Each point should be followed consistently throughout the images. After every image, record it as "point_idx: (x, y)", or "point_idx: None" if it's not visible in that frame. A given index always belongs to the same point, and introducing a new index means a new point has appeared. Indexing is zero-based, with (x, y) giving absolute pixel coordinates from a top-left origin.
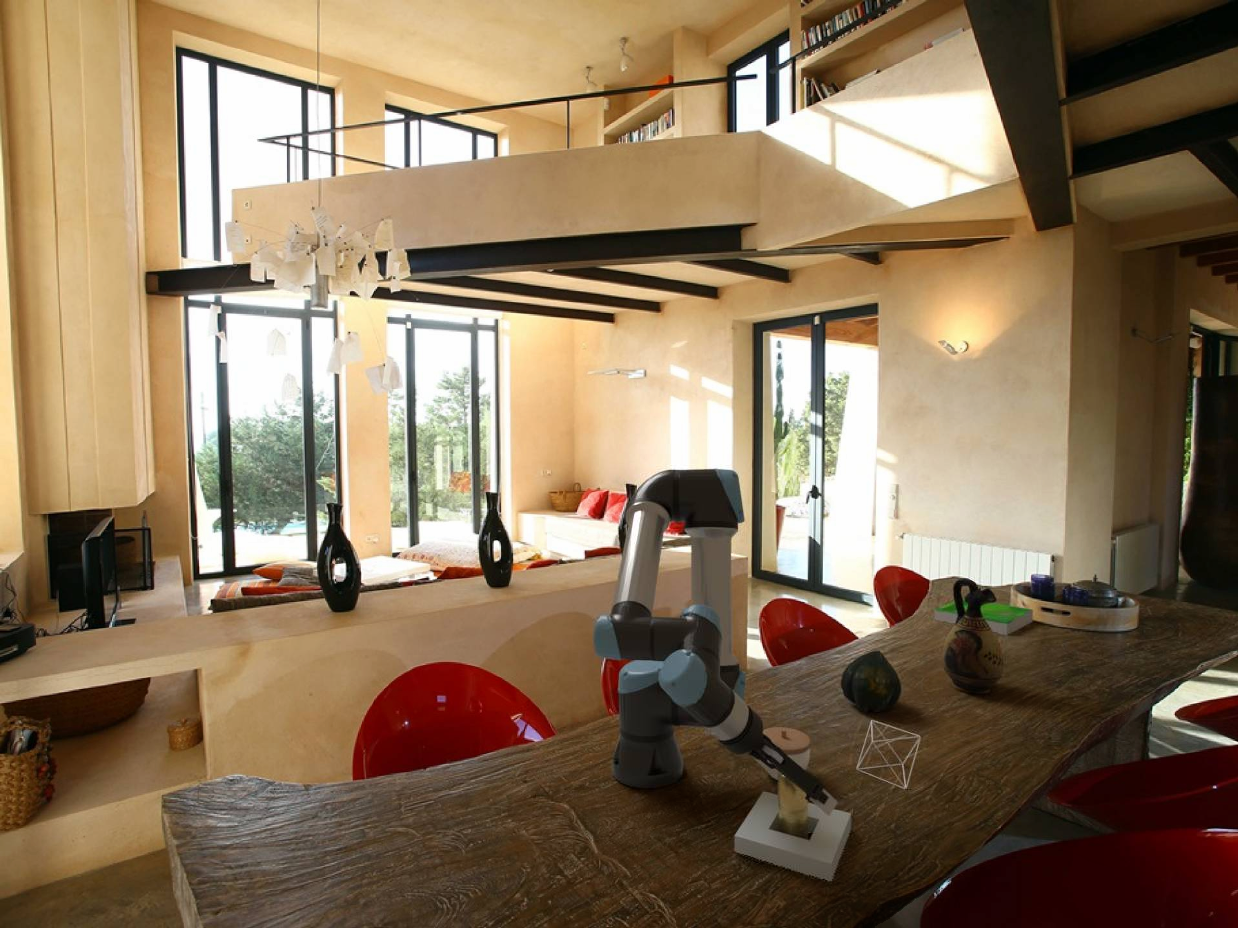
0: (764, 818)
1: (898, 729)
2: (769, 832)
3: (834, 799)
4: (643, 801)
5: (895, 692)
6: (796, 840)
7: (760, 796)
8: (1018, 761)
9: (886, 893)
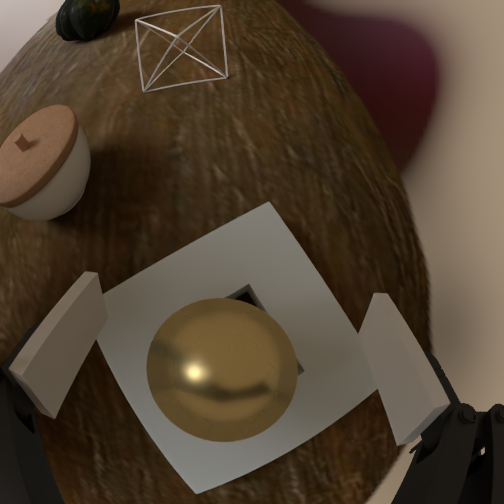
0: None
1: (183, 10)
2: None
3: (393, 306)
4: None
5: (116, 3)
6: None
7: None
8: (259, 8)
9: (421, 309)
